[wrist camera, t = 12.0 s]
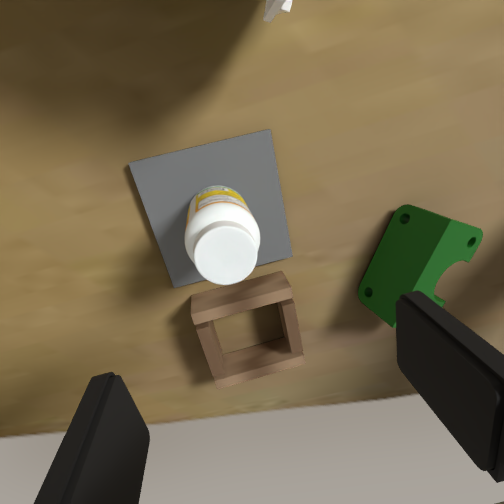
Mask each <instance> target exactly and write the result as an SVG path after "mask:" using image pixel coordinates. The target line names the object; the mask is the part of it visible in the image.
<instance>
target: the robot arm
mask: <svg viewBox="0 0 504 504" xmlns="http://www.w3.org/2000/svg"><path fill="white" fill-rule="evenodd" d="M395 305H396V339H397V362H398V366H399V368H400V370H401V371H402V373H403V374H404V375H405V376H406V378H407V379H408V380H409V381H410V383H411V384H412V385H413V386H414V388H415V389H416V390H417V391H418V393H419V394H420V395H421V396H422V398H423V399H424V400H425V401H426V403H427V404H428V405H429V407H430V408H431V409H432V410H433V411H434V413H435V414H436V415H437V417H438V418H439V419H440V420H441V422H442V423H443V424H444V425H445V427H446V428H447V429H448V430H449V432H450V433H451V434H452V435H453V437H454V438H455V439H456V440H457V442H458V443H459V444H460V446H461V447H462V448H463V449H464V451H465V452H466V453H467V454H468V456H469V457H470V458H471V459H472V460H473V462H474V463H475V464H476V465H477V467H479V468H480V469H481V470H483V471H486V470H487V471H488V473H489V474H490V475H491V476H492V478H493V479H494V480H495V481H496V482H497V483H498V482H501V481H504V355H503V354H502V353H501V352H499V351H498V350H497V349H495V348H494V347H493V346H492V345H490V344H489V343H488V342H486V341H485V340H484V339H482V338H481V337H480V336H479V335H477V334H476V333H475V332H473V331H472V330H471V329H469V328H468V327H467V326H465V325H464V324H463V323H461V322H460V321H459V320H458V319H456V318H455V317H454V316H452V315H451V314H450V313H448V312H447V311H446V310H445V309H443V308H442V307H441V306H439V305H438V304H437V303H435V302H434V301H433V300H432V299H430V298H429V297H428V296H426V295H425V294H424V293H422V292H421V291H419V290H416V291H413V292H409V293H405V294H402V295H400V297H399V300H397V301H396V304H395ZM149 441H150V436H149V430H148V428H147V426H146V424H145V422H144V420H143V418H142V416H141V414H140V413H139V411H138V409H137V407H136V405H135V403H134V401H133V399H132V397H131V395H130V393H129V391H128V389H127V387H126V385H125V384H124V382H123V380H122V378H121V376H120V375H115V374H114V373H113V372H109V373H105V374H101V375H98V376H94V377H92V378H91V380H90V382H89V384H88V386H87V389H86V391H85V393H84V395H83V397H82V400H81V402H80V404H79V406H78V408H77V411H76V413H75V415H74V417H73V419H72V422H71V424H70V426H69V428H68V430H67V433H66V435H65V436H64V438H63V441H62V443H61V445H60V447H59V449H58V451H57V454H56V456H55V458H54V460H53V462H52V465H51V467H50V469H49V471H48V474H47V476H46V478H45V480H44V482H43V485H42V487H41V489H40V491H39V493H38V495H37V498H36V500H35V502H34V504H139V498H140V492H141V487H142V481H143V475H144V470H145V464H146V459H147V453H148V447H149ZM496 504H504V502H500V503H496Z"/></svg>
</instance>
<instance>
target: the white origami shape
mask: <svg viewBox="0 0 504 504" xmlns="http://www.w3.org/2000/svg"><path fill="white" fill-rule="evenodd" d="M291 4H292V0H266V6H265V12H264V18H263V20H264V21H267V22H270V23H271V21H272V20H273V18H274V17H275V15H276V14H281V13H286V12H290V8H291Z"/></svg>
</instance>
